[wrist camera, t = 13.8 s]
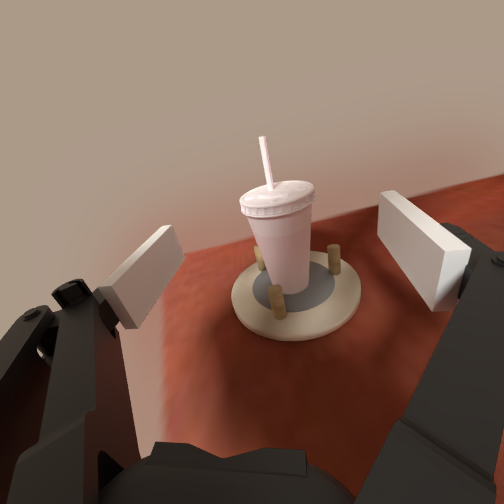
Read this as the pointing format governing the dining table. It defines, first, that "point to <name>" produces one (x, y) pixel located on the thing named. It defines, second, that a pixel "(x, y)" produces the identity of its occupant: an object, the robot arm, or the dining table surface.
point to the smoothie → (281, 226)
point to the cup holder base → (298, 299)
